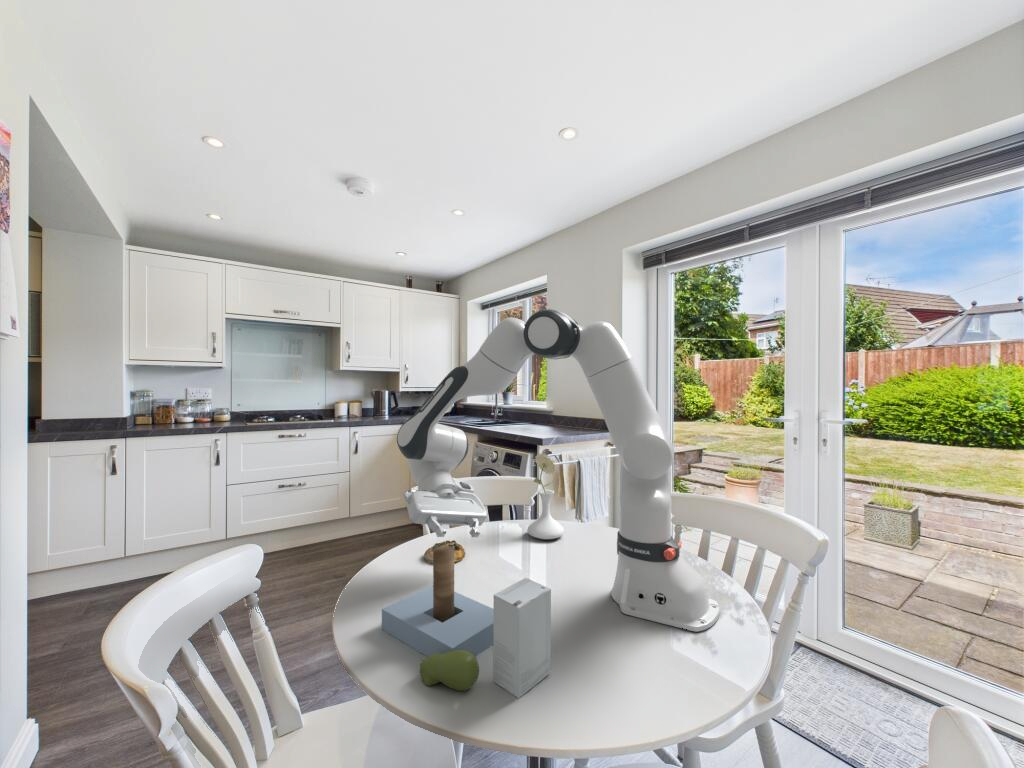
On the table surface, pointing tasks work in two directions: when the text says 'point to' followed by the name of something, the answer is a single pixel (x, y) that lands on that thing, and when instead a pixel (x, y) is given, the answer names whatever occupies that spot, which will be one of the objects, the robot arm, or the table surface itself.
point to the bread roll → (458, 548)
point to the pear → (451, 669)
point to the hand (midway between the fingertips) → (459, 535)
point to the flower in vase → (545, 505)
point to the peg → (443, 583)
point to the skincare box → (522, 636)
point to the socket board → (440, 624)
